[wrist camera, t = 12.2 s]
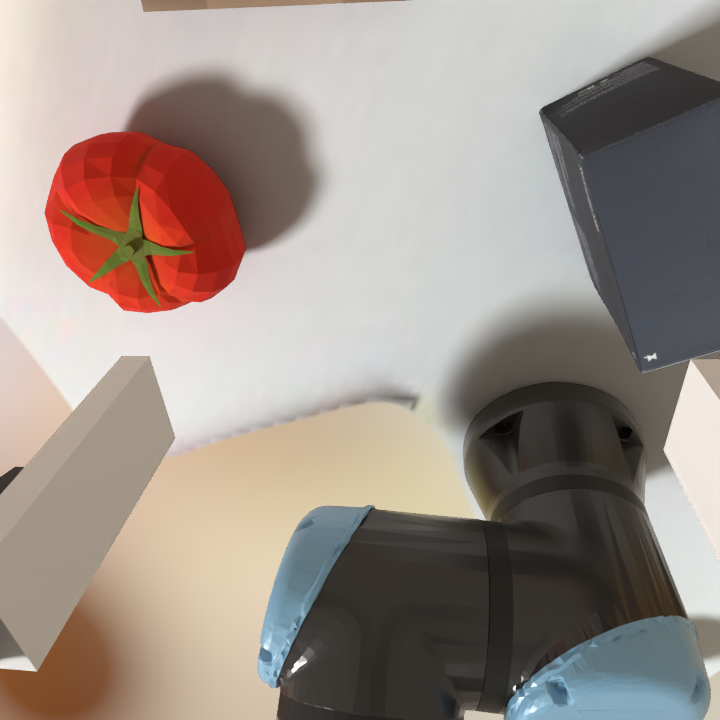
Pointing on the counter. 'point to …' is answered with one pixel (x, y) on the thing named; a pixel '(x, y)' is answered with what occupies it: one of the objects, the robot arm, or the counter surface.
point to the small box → (647, 203)
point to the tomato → (144, 222)
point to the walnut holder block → (233, 3)
